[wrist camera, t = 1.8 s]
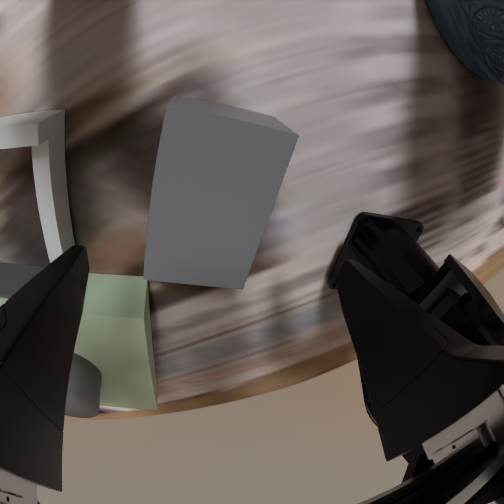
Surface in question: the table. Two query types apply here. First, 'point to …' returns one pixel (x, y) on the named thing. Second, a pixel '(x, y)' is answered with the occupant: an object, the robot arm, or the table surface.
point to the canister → (474, 34)
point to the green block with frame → (97, 291)
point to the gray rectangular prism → (213, 192)
